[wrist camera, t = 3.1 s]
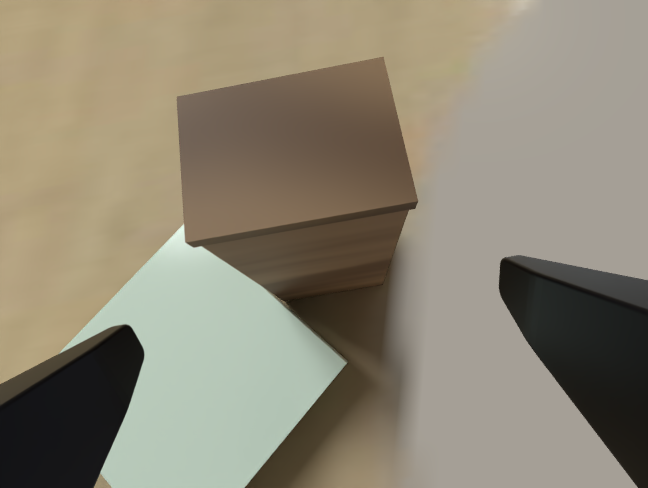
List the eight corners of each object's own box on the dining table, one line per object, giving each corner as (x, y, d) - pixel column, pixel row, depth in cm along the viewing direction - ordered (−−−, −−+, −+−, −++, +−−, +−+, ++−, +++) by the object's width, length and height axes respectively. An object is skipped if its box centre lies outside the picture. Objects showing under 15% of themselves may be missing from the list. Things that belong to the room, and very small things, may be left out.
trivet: (348, 361, 20) (346, 363, 18) (200, 540, 19) (177, 568, 16) (205, 233, 23) (188, 219, 20) (66, 380, 21) (28, 384, 19)
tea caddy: (384, 286, 21) (418, 201, 9) (282, 303, 21) (185, 242, 9) (370, 214, 22) (383, 56, 10) (273, 231, 23) (176, 96, 11)
